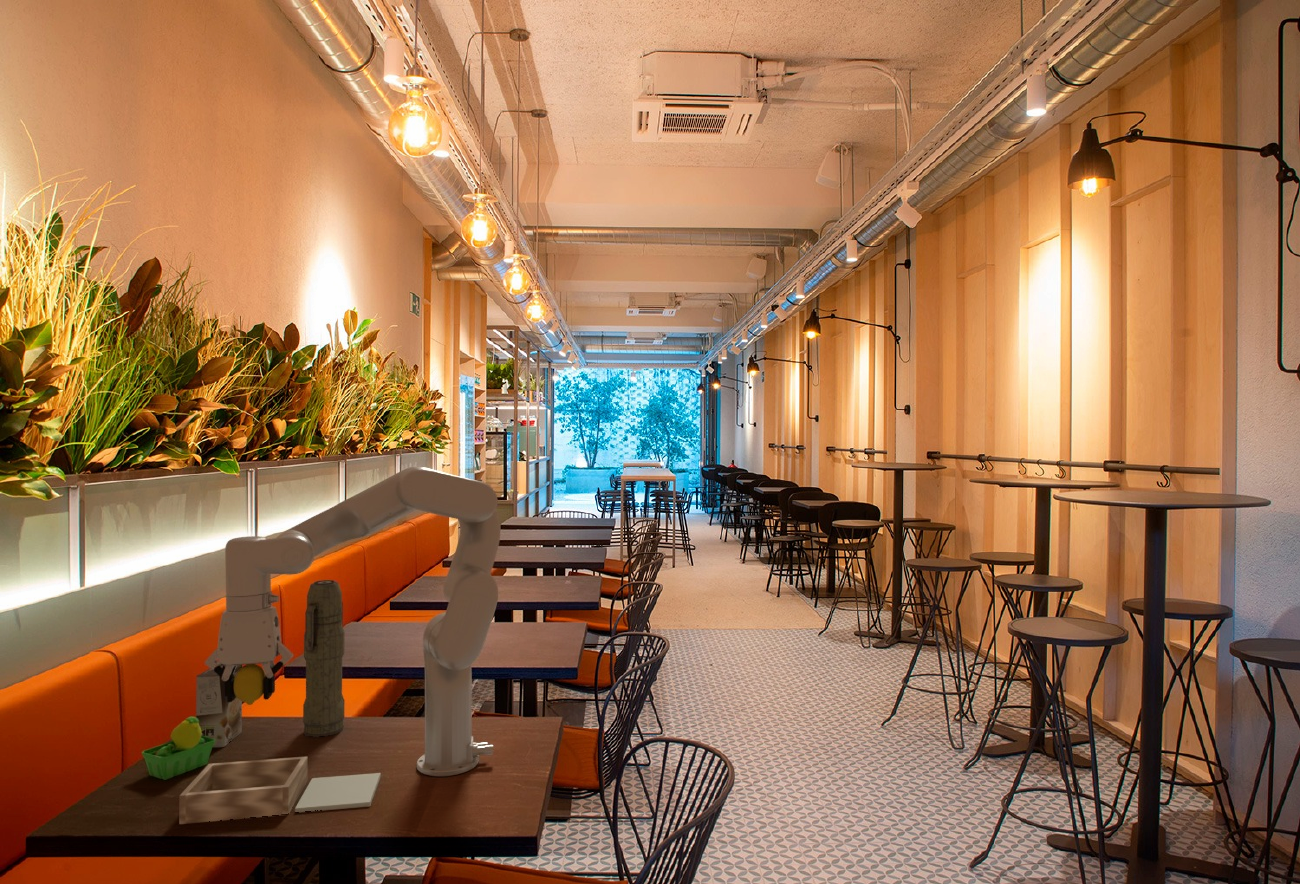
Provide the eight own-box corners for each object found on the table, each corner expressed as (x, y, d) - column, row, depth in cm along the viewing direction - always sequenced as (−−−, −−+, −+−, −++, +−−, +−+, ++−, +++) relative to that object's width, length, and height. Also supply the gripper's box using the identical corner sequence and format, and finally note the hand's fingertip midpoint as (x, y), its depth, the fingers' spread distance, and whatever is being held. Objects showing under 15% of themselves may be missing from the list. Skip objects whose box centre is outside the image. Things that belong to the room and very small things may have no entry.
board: (380, 776, 154) (380, 772, 154) (370, 806, 141) (370, 801, 141) (312, 782, 152) (312, 778, 152) (295, 812, 139) (295, 808, 139)
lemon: (252, 710, 140) (252, 667, 140) (226, 709, 141) (226, 666, 142) (273, 700, 146) (272, 659, 146) (248, 699, 147) (247, 657, 147)
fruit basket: (194, 756, 164) (194, 704, 165) (221, 764, 161) (221, 710, 161) (139, 777, 154) (139, 721, 154) (166, 785, 150) (166, 728, 150)
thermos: (354, 721, 185) (354, 577, 186) (328, 740, 173) (329, 586, 174) (319, 720, 186) (320, 577, 186) (292, 738, 174) (292, 585, 175)
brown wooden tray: (307, 781, 152) (307, 756, 152) (288, 814, 138) (288, 787, 138) (208, 789, 148) (208, 763, 148) (179, 824, 135) (179, 795, 135)
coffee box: (225, 747, 169) (225, 675, 169) (194, 748, 169) (195, 676, 169) (242, 732, 178) (243, 663, 179) (213, 733, 178) (214, 664, 178)
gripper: (302, 596, 149) (303, 688, 149) (206, 601, 146) (207, 695, 146) (292, 604, 142) (293, 701, 142) (190, 609, 138) (192, 709, 138)
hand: (250, 697), depth 144 cm, fingers closed on lemon, 5 cm apart
